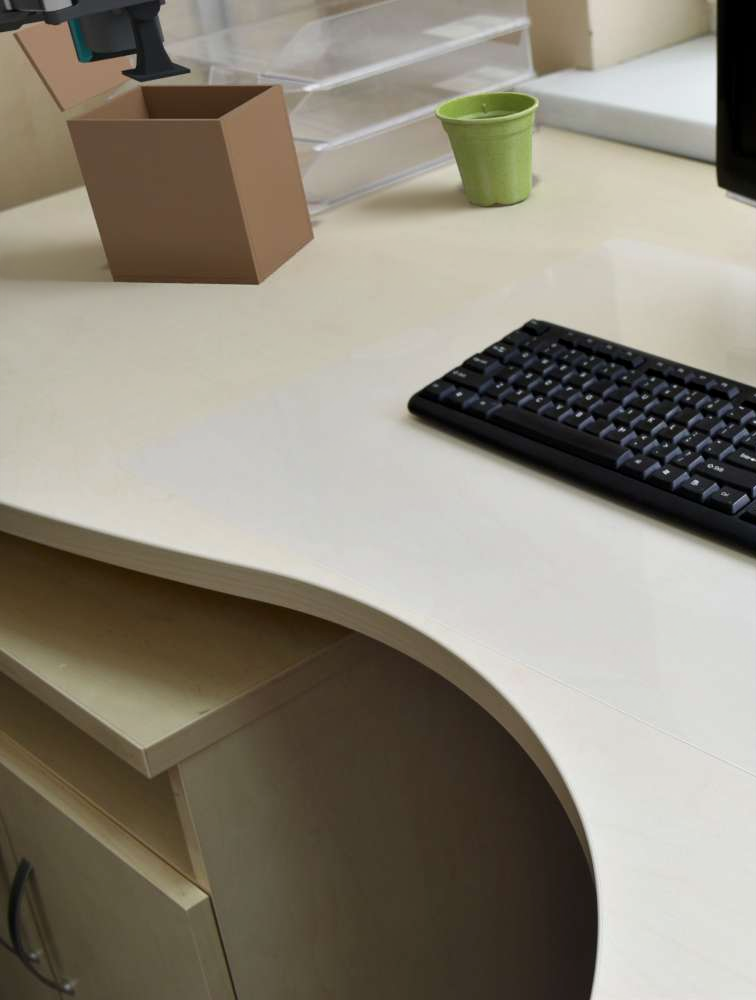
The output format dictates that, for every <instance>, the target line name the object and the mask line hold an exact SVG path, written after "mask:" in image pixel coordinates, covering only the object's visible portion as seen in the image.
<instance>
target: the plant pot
mask: <svg viewBox="0 0 756 1000" xmlns="http://www.w3.org/2000/svg"><path fill="white" fill-rule="evenodd" d="M539 105H540V103H539V99H538V98H537V97H536V96H533V95H531V94H530V93H529V94H528V93H523V92H517V91H516V92H514V91H494V92H493V91H492V92H481V93H475V94H468V95H462V96H459V97H456V98H452V99H449V100H446V101H444V102H442V103H440V104H438V105H437V106H436V107H435V109H434V115H435V117H436V118H437V119H438V120H439V121H440V122H441V125H442V128H443V131H444V132H445V133H446V134H447V137H448V139H449V143H450V146H451V150H452V153H453V156H454V159H455V162H456V166H457V169H458V172H459V176H460V180H461V183H462V187H463V189H464V193H465V196H466V199H467V201H468V202H469V203H471V204H473V205H477V206H480V207H490V206H492V205H493V204H501V205H504V206H506V205H514V204H517V203H519V202H521V201H525V200H526V199H528V198H530V197H531V195H532V190H533V128H534V127H533V125H534V123H535V119H536V110H538V108H539Z"/></svg>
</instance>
